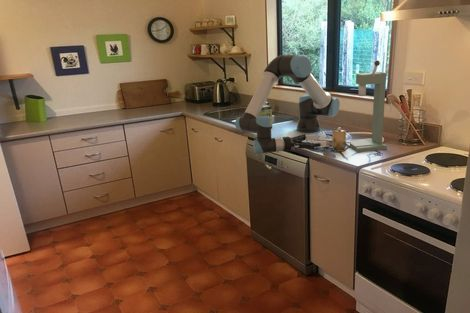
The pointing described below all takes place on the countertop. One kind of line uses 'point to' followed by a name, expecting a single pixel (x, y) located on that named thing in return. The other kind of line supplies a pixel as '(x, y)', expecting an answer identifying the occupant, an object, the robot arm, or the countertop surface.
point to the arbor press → (378, 110)
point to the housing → (338, 139)
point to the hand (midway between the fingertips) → (321, 140)
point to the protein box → (266, 112)
